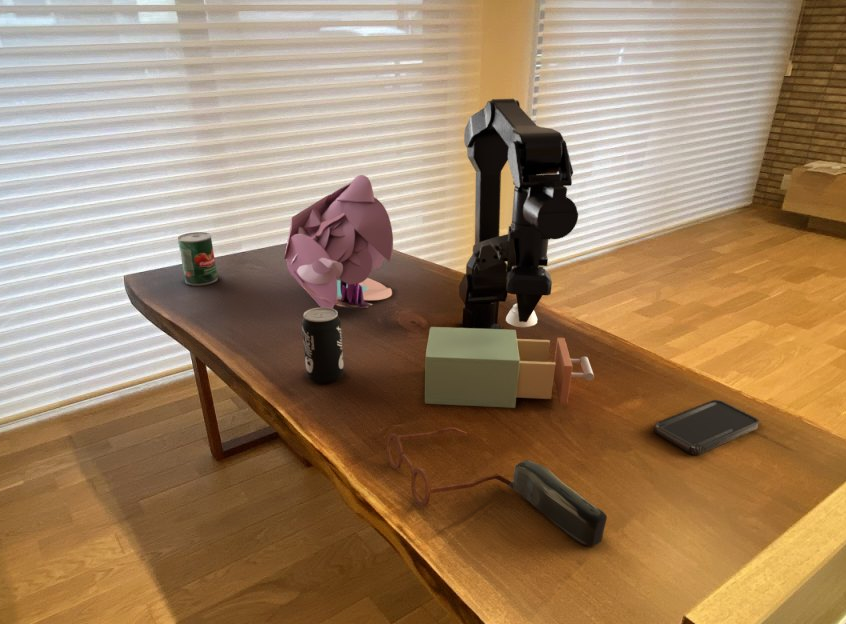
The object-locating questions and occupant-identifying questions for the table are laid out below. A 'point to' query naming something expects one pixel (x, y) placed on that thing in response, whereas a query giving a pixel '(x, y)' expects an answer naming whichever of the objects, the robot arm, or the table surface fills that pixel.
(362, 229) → the flower arrangement
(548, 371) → the drawer
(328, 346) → the beverage can
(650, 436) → the table surface
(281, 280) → the table surface
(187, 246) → the canned tomato
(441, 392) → the cabinet
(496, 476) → the glasses
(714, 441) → the phone
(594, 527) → the dark grey long block
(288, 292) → the table surface
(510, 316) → the white jar
